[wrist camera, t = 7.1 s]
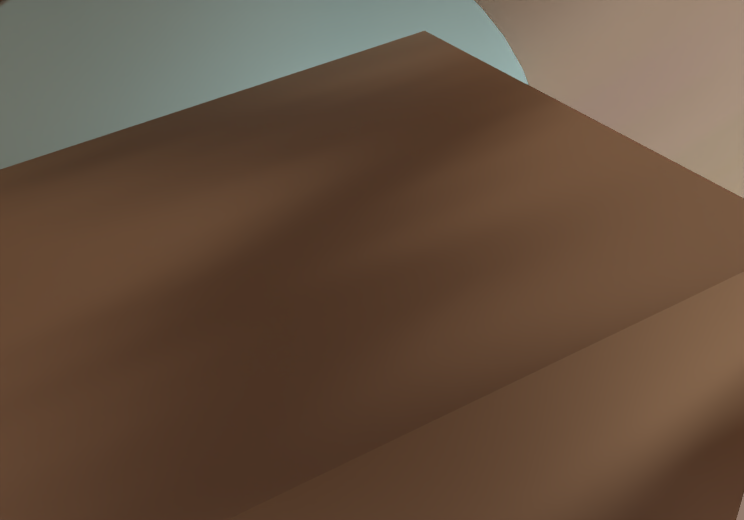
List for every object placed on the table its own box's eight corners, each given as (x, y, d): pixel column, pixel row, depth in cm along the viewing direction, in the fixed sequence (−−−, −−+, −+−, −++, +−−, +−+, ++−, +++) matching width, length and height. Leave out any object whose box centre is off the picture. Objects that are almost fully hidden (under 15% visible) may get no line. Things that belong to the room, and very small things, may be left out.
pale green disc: (521, -173, 9) (540, -172, 9) (537, 357, 15) (548, 369, 15) (-351, 55, 7) (-369, 67, 6) (83, 574, 13) (84, 593, 12)
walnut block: (424, 30, 9) (816, 235, 5) (461, 339, 13) (705, 626, 8) (-26, 177, 8) (-80, 667, 3) (155, 478, 12) (248, 912, 7)
